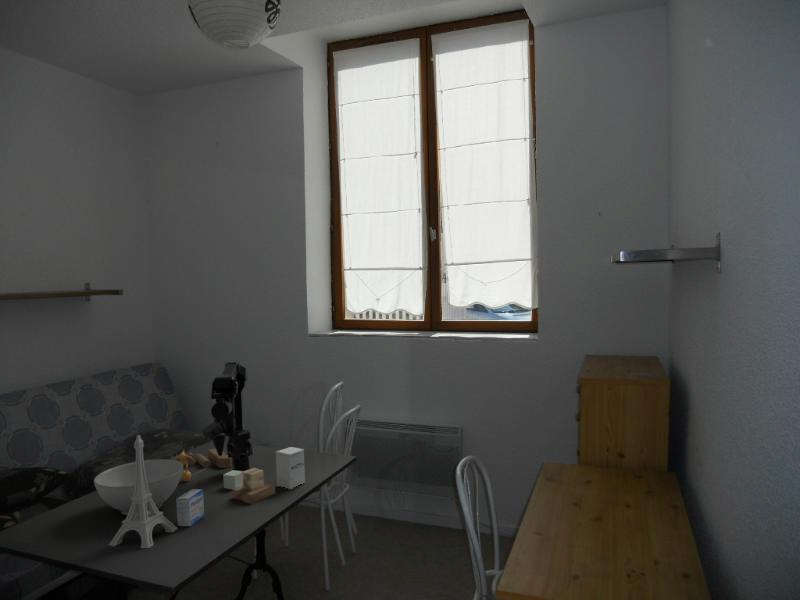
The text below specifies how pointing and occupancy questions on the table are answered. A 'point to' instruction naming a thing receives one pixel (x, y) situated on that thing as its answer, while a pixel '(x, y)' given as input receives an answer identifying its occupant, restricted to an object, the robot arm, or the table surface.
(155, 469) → the decorative bowl
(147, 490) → the eiffel tower
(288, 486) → the supplement box
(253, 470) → the oak block
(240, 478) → the sage cube
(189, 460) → the wooden block set
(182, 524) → the medicine box
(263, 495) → the walnut block
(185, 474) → the figurine
